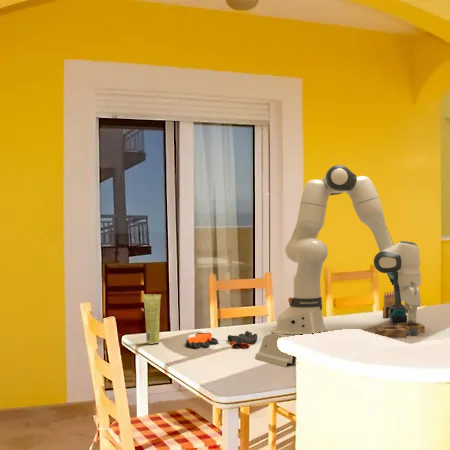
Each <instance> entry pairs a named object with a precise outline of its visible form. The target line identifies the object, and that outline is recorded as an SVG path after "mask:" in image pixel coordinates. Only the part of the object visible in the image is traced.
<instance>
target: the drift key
mask: <svg viewBox="0 0 450 450" xmlns="http://www.w3.org/2000/svg"><path fill="white" fill-rule="evenodd" d="M417 335H418V333H417V328H416V327H410V330H406V336H417Z"/></svg>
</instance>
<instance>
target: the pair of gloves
mask: <svg viewBox="0 0 450 450" xmlns="http://www.w3.org/2000/svg"><path fill="white" fill-rule="evenodd" d="M211 336H212V337H211ZM227 340H228V341H227V342H229V343H230V344H231V347H232V349H233V350H235V349H238V348H240V349H243V350H244V349H249V348H250V346H251V345H253V344H255V343H256V342H257V340H258V334H257V333H254V334H253V332H251V331H249V330H245V332H244V333H240V334H238V335H231V334H229V335H227ZM185 341H186V343H185V346H186V347H187V348H190V349H194V350H198V349H201V348H203V349H209V348H210V346H211V345H212V346H213V345H214V346H215V345H216V344H219V341H218V339H217V338H215V337H213V335H212V333H211V332H196V334H195V336H192V337H189V338H187V339H186V340H185Z"/></svg>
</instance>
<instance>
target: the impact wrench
mask: <svg viewBox="0 0 450 450" xmlns="http://www.w3.org/2000/svg"><path fill="white" fill-rule="evenodd" d="M386 275H387V277H388V279H389V282H390V283H391V285H392V286H393V292H394V296H395V304H394V305H392V306H390V308H389V311H390V313H389V318H388V319H389V322H390V323H391V324H393V325H397V323H408V314H407V313H406V309H405V304H402V300H401V297H400V289H399V284H398V272H397V271H395V272H391V273H386Z"/></svg>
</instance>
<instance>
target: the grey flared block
mask: <svg viewBox="0 0 450 450" xmlns="http://www.w3.org/2000/svg"><path fill="white" fill-rule="evenodd" d="M281 337H289V336H288V335H286V334H274V333H272V334H267V335H264V336H263V337H262V342H261V344H260V345H261V346H260V348H259V350H258V352H256V353H255V357H254V359H255V360H257V361H261V362H266V363H269V364H271V365H276V366H279V367H283V368H286V367H287V365H288V364H291V365H295V366H297V365H296V357H294V356H291V355H288V354H286V353H283V352H281V351H280V350H279V349H278V347H277V340H278V338H281Z"/></svg>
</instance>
